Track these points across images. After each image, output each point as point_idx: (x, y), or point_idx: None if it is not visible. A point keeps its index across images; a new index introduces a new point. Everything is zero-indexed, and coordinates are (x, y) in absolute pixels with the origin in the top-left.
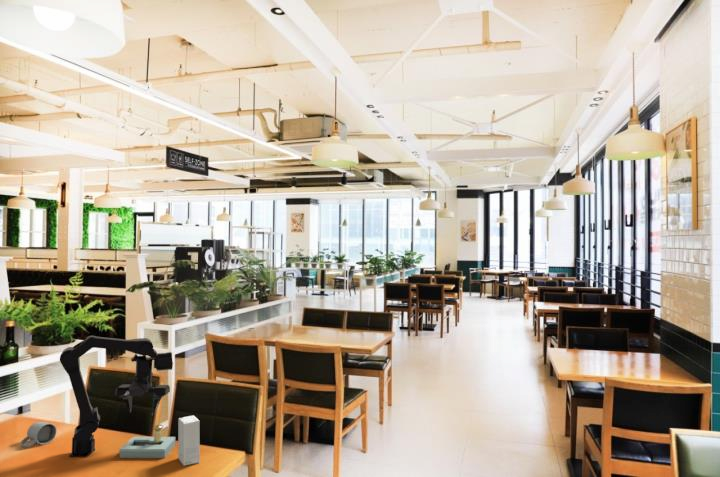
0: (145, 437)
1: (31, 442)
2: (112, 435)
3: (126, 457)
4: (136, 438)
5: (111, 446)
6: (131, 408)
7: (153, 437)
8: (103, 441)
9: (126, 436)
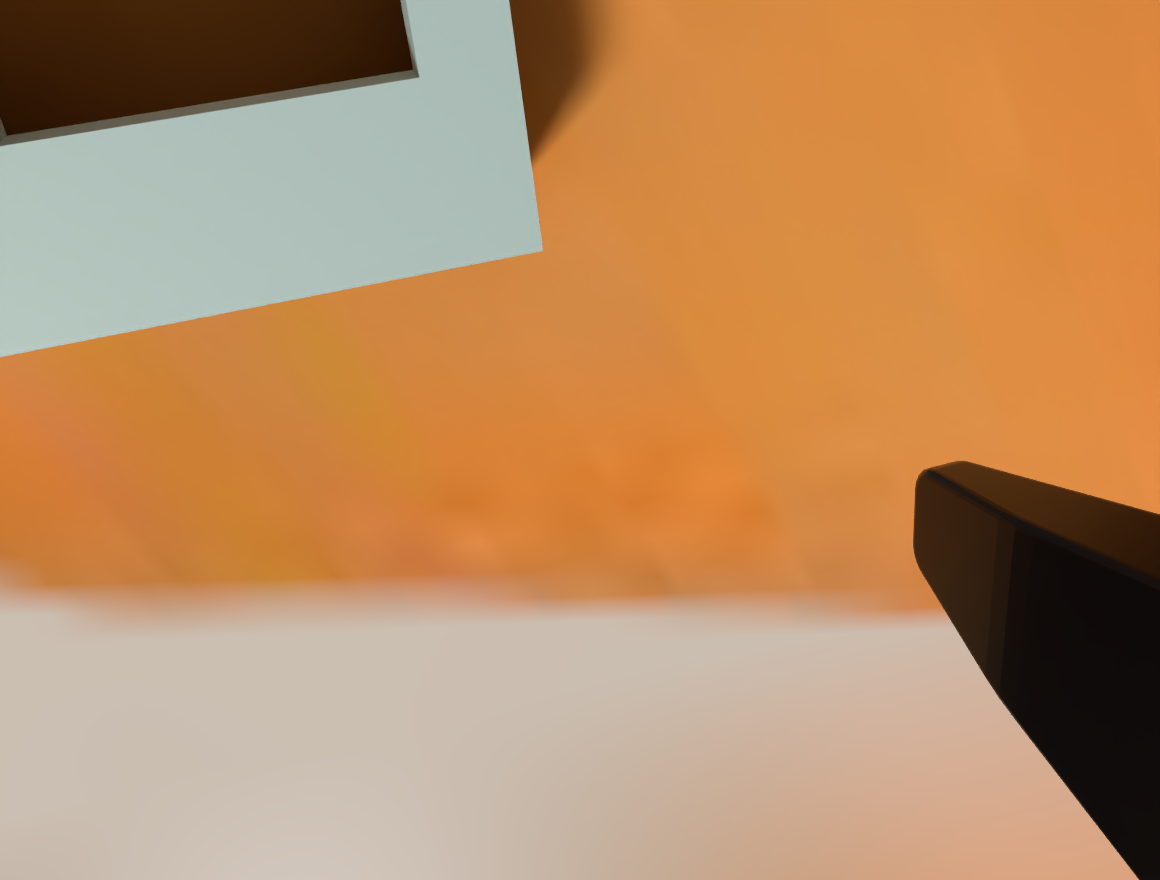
0: (230, 264)
1: None
2: None
3: None
4: (408, 162)
5: (866, 64)
6: (985, 649)
7: (25, 305)
8: (1075, 254)
9: (809, 520)
